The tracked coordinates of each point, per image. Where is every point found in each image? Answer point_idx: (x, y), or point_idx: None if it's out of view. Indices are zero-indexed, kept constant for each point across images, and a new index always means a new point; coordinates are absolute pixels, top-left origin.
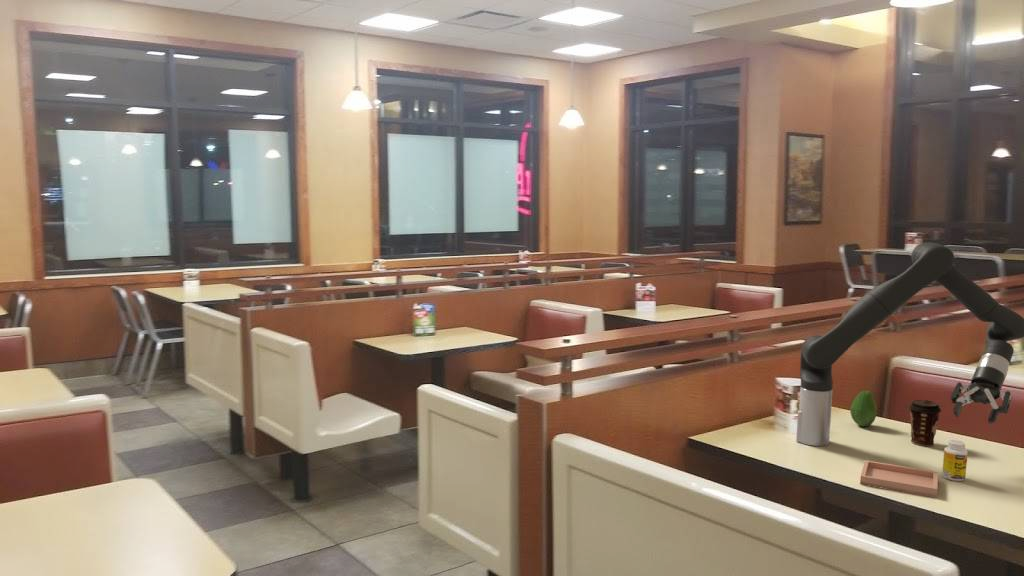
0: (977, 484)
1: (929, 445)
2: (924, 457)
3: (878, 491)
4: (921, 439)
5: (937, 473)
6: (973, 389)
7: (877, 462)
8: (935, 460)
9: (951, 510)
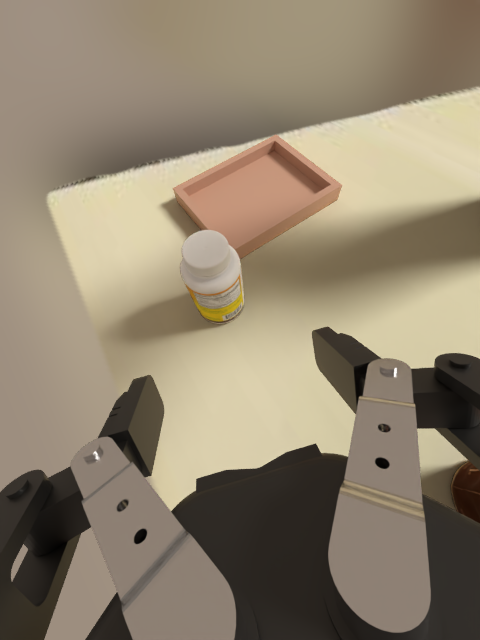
0: (172, 317)
1: (452, 489)
2: None
3: None
4: None
5: None
6: (395, 513)
7: (321, 194)
8: None
9: (137, 185)
